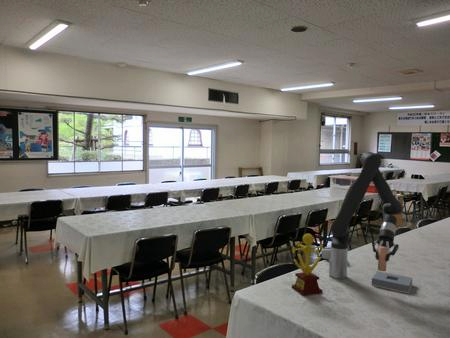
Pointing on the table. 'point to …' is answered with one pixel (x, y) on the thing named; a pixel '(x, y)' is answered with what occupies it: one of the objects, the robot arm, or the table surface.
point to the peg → (382, 258)
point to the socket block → (392, 282)
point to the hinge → (327, 253)
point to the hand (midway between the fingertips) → (381, 259)
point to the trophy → (307, 269)
